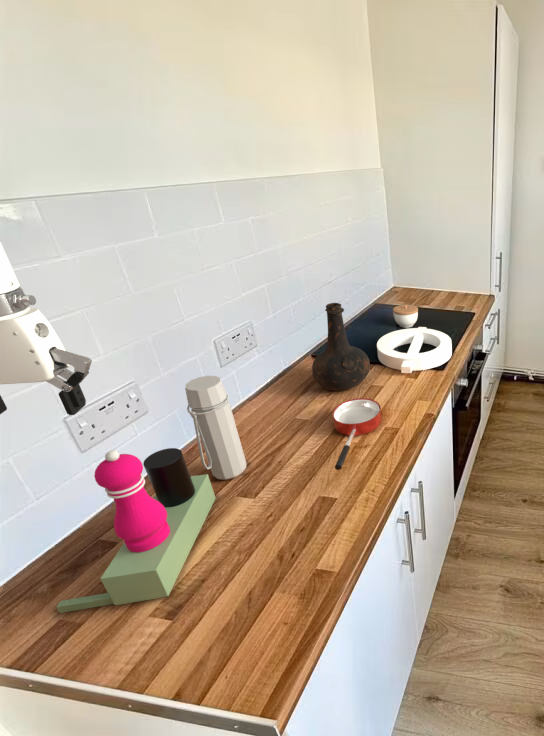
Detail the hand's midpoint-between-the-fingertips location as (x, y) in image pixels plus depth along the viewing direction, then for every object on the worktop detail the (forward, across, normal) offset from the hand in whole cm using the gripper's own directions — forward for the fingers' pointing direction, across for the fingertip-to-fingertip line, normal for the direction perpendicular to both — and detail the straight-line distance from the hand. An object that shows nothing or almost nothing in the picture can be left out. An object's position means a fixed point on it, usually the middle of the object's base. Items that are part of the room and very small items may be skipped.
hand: (37, 412), depth 64 cm
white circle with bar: (+35, -58, -85) cm, 109 cm away
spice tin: (+29, -7, -11) cm, 32 cm away
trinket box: (+35, -56, -114) cm, 132 cm away
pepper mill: (+29, -7, -1) cm, 30 cm away
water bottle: (+36, -11, -25) cm, 45 cm away
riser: (+36, -3, -5) cm, 36 cm away
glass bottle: (+35, -34, -65) cm, 81 cm away
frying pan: (+35, -40, -32) cm, 62 cm away
